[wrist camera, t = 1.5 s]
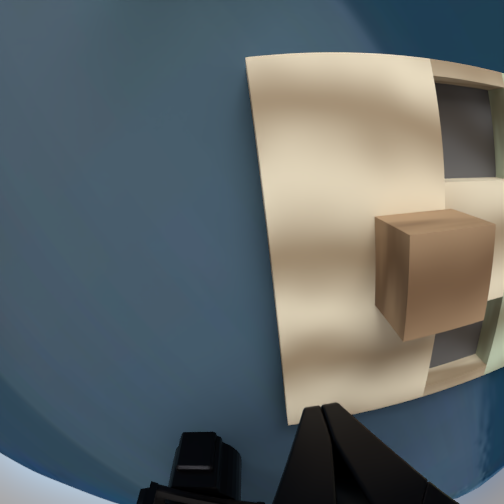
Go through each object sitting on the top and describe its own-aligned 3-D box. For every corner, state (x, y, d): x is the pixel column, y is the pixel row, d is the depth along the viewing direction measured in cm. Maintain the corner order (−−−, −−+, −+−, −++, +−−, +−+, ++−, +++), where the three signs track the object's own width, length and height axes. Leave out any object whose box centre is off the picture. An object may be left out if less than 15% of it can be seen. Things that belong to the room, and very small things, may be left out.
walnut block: (447, 290, 17) (483, 320, 13) (374, 304, 17) (403, 341, 13) (451, 208, 16) (495, 224, 12) (374, 216, 16) (409, 235, 12)
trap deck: (540, 333, 21) (552, 342, 19) (285, 406, 22) (288, 425, 20) (556, 96, 15) (572, 96, 13) (245, 68, 15) (245, 57, 13)
